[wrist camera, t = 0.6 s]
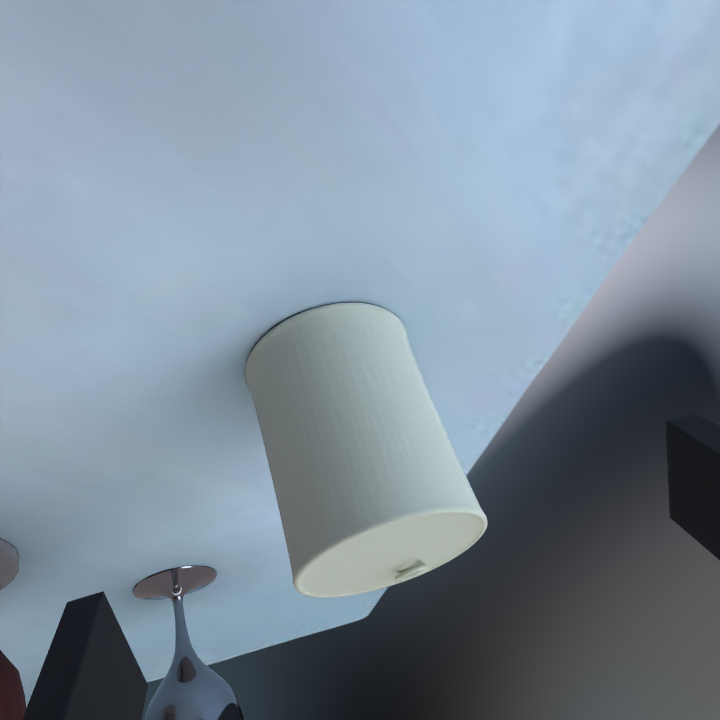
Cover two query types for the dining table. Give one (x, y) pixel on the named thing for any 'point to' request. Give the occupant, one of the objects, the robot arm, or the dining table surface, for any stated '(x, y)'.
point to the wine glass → (187, 656)
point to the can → (357, 452)
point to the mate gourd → (3, 684)
